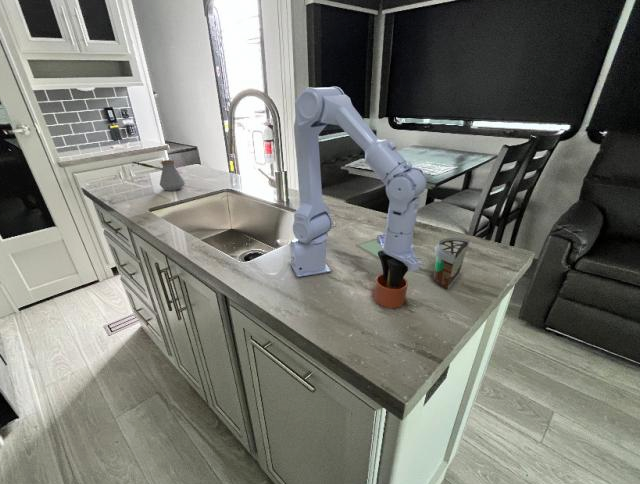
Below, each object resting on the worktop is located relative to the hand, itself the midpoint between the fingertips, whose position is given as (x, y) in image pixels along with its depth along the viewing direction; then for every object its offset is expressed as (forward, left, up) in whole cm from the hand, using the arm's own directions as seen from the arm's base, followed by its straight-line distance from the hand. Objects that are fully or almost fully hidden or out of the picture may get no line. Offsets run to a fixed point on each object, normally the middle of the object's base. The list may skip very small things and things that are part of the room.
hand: (391, 283), depth 75 cm
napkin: (+11, +25, -4) cm, 27 cm away
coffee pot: (-59, +110, -5) cm, 124 cm away
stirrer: (0, 0, -4) cm, 4 cm away
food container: (+18, +5, -5) cm, 19 cm away
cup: (0, 0, -4) cm, 4 cm away
